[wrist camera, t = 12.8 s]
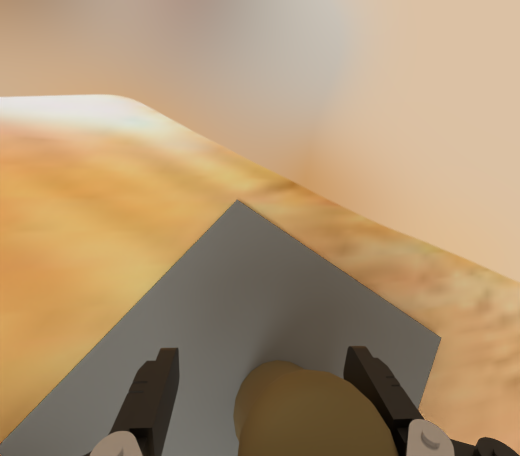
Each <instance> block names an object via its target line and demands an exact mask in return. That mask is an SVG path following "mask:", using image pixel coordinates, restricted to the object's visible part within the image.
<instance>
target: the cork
mask: <svg viewBox="0 0 520 456" xmlns="http://www.w3.org/2000/svg"><path fill="white" fill-rule="evenodd" d="M233 418H234V426H235V433H236V436H237V439H238V441H239V449H238V456H399V454H398V452H397V449H396V446H395V443H394V440H393V437H392V435H391V432H390V429H389V428H388V426H387V425H386V423H385V422H384V420H383V418H382V417H381V415H380V414H379V412H378V411H377V409H376V408H375V406H374V405H373V404H372V402H371V401H370V400H369V399H368V398H367V397H365V396H364V395H363V394H362V393H361V392H360V391H359V390H358V389H357V388H356V387H355V386H354V385H352V384H351V383H350V382H348V381H346V380H344V379H342V378H340V377H338V376H336V375H334V374H332V373H330V372H325V371H316V370H307V369H303V368H302V367H300V366H298V365H296V364H294V363H292V362H289V361H280V360H275V361H271V362H267V363H263V364H261V365H260V366H258V367H257V368H255V369H254V370H252V371H251V372H250V373H249V375H248V376H247V377H246V378H245V380H244V381H243V382H242V384H241V386H240V389H239V391H238V393H237V396H236V398H235V406H234V414H233Z"/></svg>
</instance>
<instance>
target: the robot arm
mask: <svg viewBox="0 0 520 456" xmlns="http://www.w3.org/2000/svg"><path fill="white" fill-rule="evenodd" d="M179 377H180V371H179V349H178V348H161V349H160V351H159V353H158V356H157V358H156V361H146V362H145V363H144V364H143V365H142V366H141V367H140V368H139V370H138V371H137V373H136V375H135V377H134V380H133V383H132V384H131V386H130V389H129V391H128V393H127V395H126V397H125V400H124V402H123V404H122V406H121V408H120V411H119V413H118V415H117V417H116V420H115V422H114V424H113V426H112V428H111V431H110V432H109V434H108V436H106V437H105V438H103V439H102V440H101V441H100V442H99V443H98V444H97V445H96V446H95V447H94V449H93V450H92V451H91V452H89V453H87V454H86V455H83V456H161V455H162V451H163V447H164V443H165V439H166V435H167V431H168V427H169V423H170V419H171V415H172V411H173V407H174V403H175V399H176V395H177V391H178V386H179ZM343 377H344V380H346V381H348V382H350V383H351V384H352V385H354V386H355V387H356V388H357V389H358V390H359V391H360V392H361V393H362V394H363V395H364V396H365V397H367V398H368V399H369V400H370V401H371V402H372V404H373V405H374V406H375V408H376V409H377V411H378V412H379V414H380V415H381V417H382V418H383V420H384V422H385V423H386V425H387V426H388V428H389V429H390V432H391V435H392V437H393V440H394V443H395V446H396V449H397V452H398V454H399V456H519V455H518V454H517V453H516V452H515V451H514V450H512V449H511V448H510V447H508V446H507V445H505V444H504V443H502V442H500V441H498V440H495V439H492V438H488V437H483V438H480V439H479V440H478V442H477V444H476V446H473V445H469V444H466V443H462V442H459V441H455V440H452V439H449V437H448V436H447V435H446V434H445V432H444V431H442V430H441V429H440V428H439V427H438V426H436V425H435V424H433V423H431V422H429V421H426V420H425V419H424V418H423V417H422V415H421V414H420V412H419V411H418V409H417V408H416V406H415V405H414V404H413V402H412V401H411V399H410V398H409V396H408V395H407V393H406V392H405V390H404V389H403V388H402V387H401V385H400V383H399V382H398V380H397V379H396V378H395V376H394V374H393V373H392V371H391V370H390V369H389V367H388V366H387V365H386V364H385V363H384V362H382V361H381V360H380V359H379V358H373V356H372V355H371V353H370V352H369V350H368V349H367V347H366V346H349V347H348V349H347V354H346V360H345V365H344V371H343Z"/></svg>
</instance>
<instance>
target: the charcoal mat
mask: <svg viewBox="0 0 520 456" xmlns="http://www.w3.org/2000/svg"><path fill="white" fill-rule="evenodd" d="M440 340H441V337H439V336H438V335H436V334H435V333H433V332H432V331H430V330H429V329H427V328H426V327H424V326H423V325H421V324H420V323H418V322H417V321H416V320H414V319H413V318H411V317H410V316H408V315H407V314H405V313H404V312H402V311H401V310H399V309H398V308H396V307H395V306H393V305H392V304H390V303H389V302H387V301H386V300H384V299H383V298H382V297H380V296H379V295H377V294H376V293H374V292H373V291H371V290H370V289H368V288H367V287H365V286H364V285H362V284H361V283H359V282H358V281H356V280H355V279H353V278H352V277H351V276H349V275H348V274H346V273H345V272H343V271H342V270H340V269H339V268H337V267H336V266H334V265H333V264H331V263H330V262H328V261H327V260H325V259H324V258H322V257H321V256H319V255H318V254H317V253H315V252H314V251H312V250H311V249H309V248H308V247H306V246H305V245H303V244H302V243H300V242H299V241H297V240H296V239H294V238H293V237H291V236H290V235H288V234H287V233H286V232H284V231H283V230H281V229H280V228H278V227H277V226H275V225H274V224H272V223H271V222H269V221H268V220H266V219H265V218H263V217H262V216H260V215H259V214H257V213H256V212H254V211H253V210H252V209H250V208H249V207H247V206H246V205H244V204H243V203H241V202H240V201H238V200H236V202H235V203H234V204H233V205H232V206H231V207H230V208H229V209H228V210H227V211H226V212H225V213H224V214H223V215H222V216H221V217H220V218H219V219H218V220H217V221H216V222H215V223H214V224H213V225H212V226H211V227H210V228H209V229H208V230H207V231H206V232H205V233H204V234H203V236H202V237H201V238H200V239H199V240H198V241H197V242H196V243H195V244H194V245H193V246H192V247H191V248H190V249H189V250H188V251H187V252H186V253H185V254H184V255H183V256H182V257H181V258H180V259H179V260H178V261H177V262H176V263H175V264H174V265H173V266H172V267H171V268H170V270H169V271H168V272H167V273H166V274H165V275H164V276H163V277H162V278H161V279H160V280H159V281H158V282H157V283H156V284H155V285H154V286H153V287H152V288H151V289H150V290H149V291H148V292H147V293H146V294H145V295H144V296H143V297H142V298H141V299H140V300H139V301H138V303H137V304H136V305H135V306H134V307H133V308H132V309H131V310H130V311H129V312H128V313H127V314H126V315H125V316H124V317H123V318H122V319H121V320H120V321H119V322H118V323H117V324H116V325H115V326H114V327H113V328H112V329H111V330H110V331H109V332H108V333H107V334H106V335H105V337H104V338H103V339H102V340H101V341H100V342H99V343H98V344H97V345H96V346H95V347H94V348H93V349H92V350H91V351H90V352H89V353H88V354H87V355H86V356H85V357H84V358H83V359H82V360H81V361H80V362H79V363H78V364H77V365H76V366H75V367H74V368H73V369H72V371H71V372H70V373H69V374H68V375H67V376H66V377H65V378H64V379H63V380H62V381H61V382H60V383H59V384H58V385H57V386H56V387H55V388H54V389H53V390H52V391H51V392H50V393H49V394H48V395H47V396H46V397H45V398H44V399H43V400H42V401H41V402H40V404H39V405H38V406H37V407H36V408H35V409H34V410H33V411H32V412H31V413H30V414H29V415H28V416H27V417H26V418H25V419H24V420H23V421H22V422H21V423H20V424H19V425H18V426H17V427H16V428H15V429H14V430H13V431H12V432H11V433H10V434H9V435H8V436H7V438H6V439H5V440H4V441H3V442H2V443H1V444H0V455H1V456H83V455H86V454H87V453H89V452H91V451H92V450H93V449H94V447H95V446H96V445H97V444H98V443H99V442H100V441H101V440H102V439H103V438H105V437H106V436H108V434H109V432H110V431H111V428H112V426H113V424H114V422H115V420H116V417H117V415H118V413H119V411H120V408H121V406H122V404H123V402H124V400H125V397H126V395H127V393H128V391H129V389H130V386H131V384H132V383H133V380H134V377H135V375H136V373H137V371H138V370H139V368H140V367H141V366H142V365H143V364H144V363H145V362H146V361H156V358H157V356H158V353H159V351H160V349H161V348H178V349H179V371H180V377H179V386H178V391H177V395H176V399H175V403H174V407H173V411H172V415H171V419H170V423H169V427H168V431H167V435H166V439H165V443H164V447H163V451H162V455H161V456H238V449H239V441H238V439H237V436H236V433H235V426H234V418H233V414H234V406H235V398H236V396H237V393H238V391H239V389H240V386H241V384H242V382H243V381H244V380H245V378H246V377H247V376H248V375H249V373H250V372H251V371H252V370H254V369H255V368H257V367H258V366H260V365H261V364H263V363H267V362H271V361H275V360H280V361H289V362H292V363H294V364H296V365H298V366H300V367H302V368H303V369H307V370H316V371H325V372H330V373H332V374H334V375H336V376H338V377H340V378H342V379H344V377H343V371H344V365H345V360H346V354H347V349H348V347H349V346H366V347H367V349H368V350H369V352H370V353H371V355H372V356H373V358H379V359H380V360H381V361H382V362H384V363H385V364H386V365H387V366H388V367H389V369H390V370H391V371H392V373H393V374H394V376H395V378H396V379H397V380H398V382H399V383H400V385H401V387H402V388H403V389H404V390H405V392H406V393H407V395H408V396H409V398H410V399H411V401H412V402H413V404H414V405H415V406H416V408H417V409H418V407H419V404H420V401H421V398H422V395H423V392H424V389H425V386H426V383H427V380H428V377H429V374H430V371H431V368H432V365H433V362H434V359H435V355H436V352H437V349H438V346H439V343H440Z"/></svg>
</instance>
